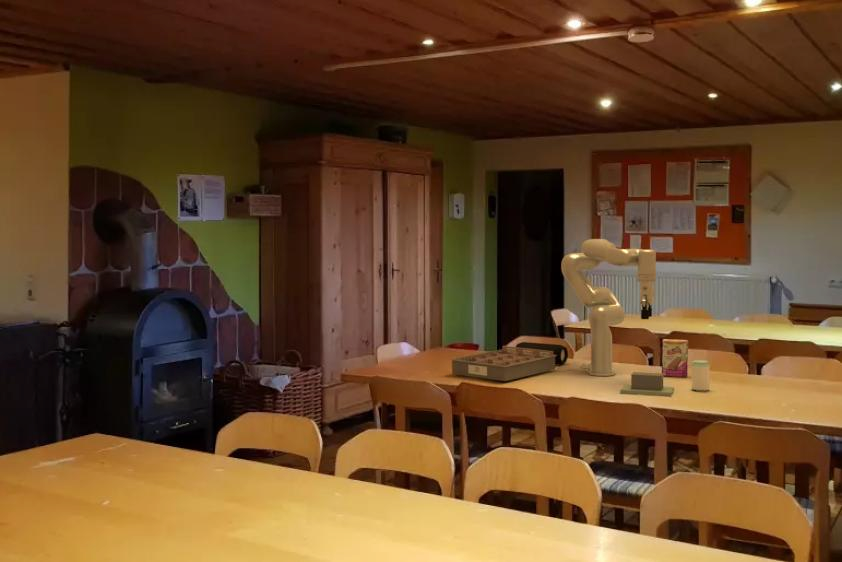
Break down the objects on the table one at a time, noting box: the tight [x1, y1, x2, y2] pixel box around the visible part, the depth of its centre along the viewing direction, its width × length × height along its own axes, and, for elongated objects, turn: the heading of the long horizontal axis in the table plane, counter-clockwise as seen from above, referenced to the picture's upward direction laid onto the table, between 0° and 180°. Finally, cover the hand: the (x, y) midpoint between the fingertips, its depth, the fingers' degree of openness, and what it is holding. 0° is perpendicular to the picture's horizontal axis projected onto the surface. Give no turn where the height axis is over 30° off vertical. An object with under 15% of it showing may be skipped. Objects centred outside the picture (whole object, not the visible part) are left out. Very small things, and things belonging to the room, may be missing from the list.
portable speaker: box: [515, 341, 569, 365], centre depth 427 cm, size 26×10×10 cm, turn 55°
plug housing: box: [630, 371, 664, 391], centre depth 350 cm, size 12×6×6 cm, turn 68°
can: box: [691, 359, 711, 392], centre depth 353 cm, size 7×7×12 cm
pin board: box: [619, 384, 675, 397], centre depth 350 cm, size 20×12×5 cm, turn 68°
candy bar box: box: [661, 338, 689, 378], centre depth 384 cm, size 11×5×16 cm, turn 71°
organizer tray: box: [450, 345, 557, 382], centre depth 398 cm, size 32×40×10 cm
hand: (646, 317), depth 369 cm, fingers open, 9 cm apart
